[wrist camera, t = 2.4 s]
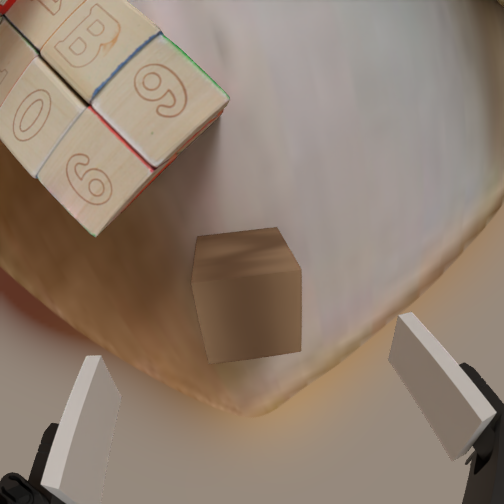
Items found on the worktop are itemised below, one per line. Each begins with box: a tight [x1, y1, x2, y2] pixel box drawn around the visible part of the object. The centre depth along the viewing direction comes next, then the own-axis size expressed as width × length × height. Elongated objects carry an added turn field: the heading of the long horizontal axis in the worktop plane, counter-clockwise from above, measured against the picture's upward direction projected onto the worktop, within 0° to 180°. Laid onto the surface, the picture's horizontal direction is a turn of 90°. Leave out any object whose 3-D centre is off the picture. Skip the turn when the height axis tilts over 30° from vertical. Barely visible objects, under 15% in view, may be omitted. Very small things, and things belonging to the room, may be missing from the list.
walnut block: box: [191, 227, 302, 364], centre depth 18 cm, size 5×5×6 cm
